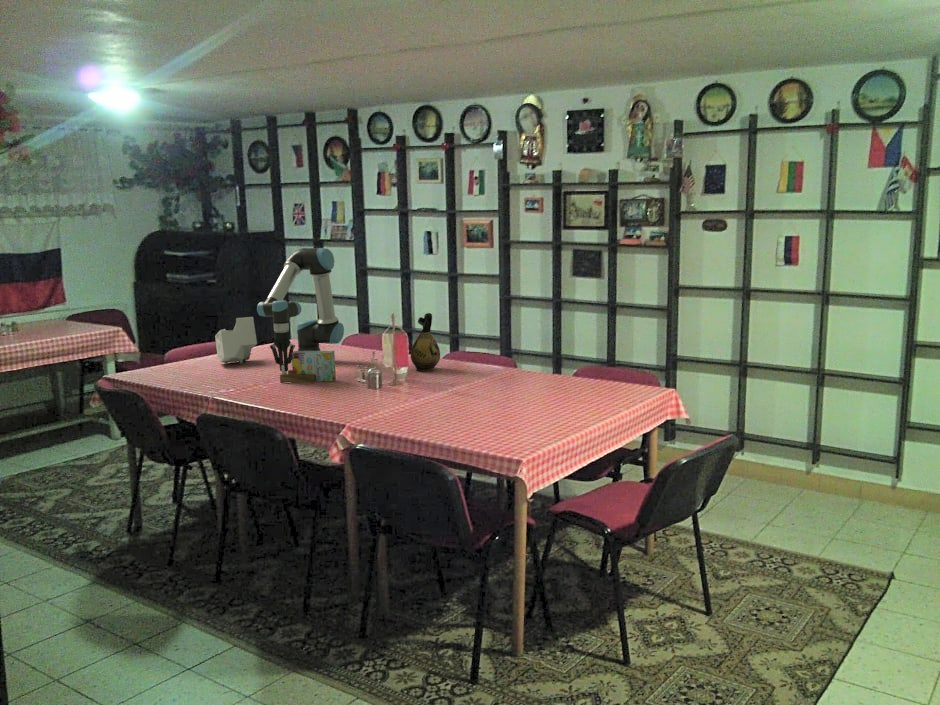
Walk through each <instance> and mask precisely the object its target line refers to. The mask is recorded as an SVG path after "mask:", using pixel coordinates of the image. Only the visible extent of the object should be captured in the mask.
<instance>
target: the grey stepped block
mask: <svg viewBox="0 0 940 705" xmlns="http://www.w3.org/2000/svg"><path fill="white" fill-rule="evenodd" d="M214 339H215V346H216V354H217V358H218V359H219V361H220V363H224V364H225V363H226V364H225V365H229V364H230V363H238V362H237V361H240V362H239V364H240V365H242V364H244V363H245V362H246V361H248V360H250V359H251V355H252V349H253V348H254V347H255V346H257V345H258V340H257V339H258V338H257V334H256V326H255V320H254V317H253V316H247V317H236V318H235V325H234V327H233V330H230V329H229V330H226V328H224V329H220V330H219V331H218V332H217V333H216V334H215V338H214Z"/></svg>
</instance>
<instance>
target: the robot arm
mask: <svg viewBox="0 0 940 705" xmlns="http://www.w3.org/2000/svg"><path fill="white" fill-rule="evenodd" d="M285 260H286V261H285V262H284V264H283V269H282V271H281V272H280V274H279V276H278V278H277V280H276V282H275V283H274V285H273V287H272V288H271V290H270V292H269V294H268V296H267V297H266V299H265V301H260V302H259V303H258V304H257V307H256V311H257V313H258V315H259V316H260V317H268V318H269V317H272V321H273V331H274V333H273V339H274V341H273V343H272V344H271V345H269V347H270V349H271V351H272V354H273V359H274V361H275V364H277V365H279V371H280V372H281V374H288V371H289V364H292V354H291V353H292V352H294V349H295V347H296V345H295V344H292V342H291V340H290V336H291V335H290V331H289V330H290V325H289V319H290V318H293V317H294V318H295V317H297V316H300V314H301V312H302V306H301V303H299V302H298V301H290V302H289V301H287V300H285V299H284V298H285V296H286V295H287V293H288V291H289V290H290V288H291V286H292V284H293V282H294V281H295V280H296V277H297V276H299V275H300V274H301V273H302V271H305V270H309V275H310V276H312V277H313V284H314V289H315V290H314V292H315V298H316V302H317V310H318V316H319V317H318V319H309V320H304V321H300V322H297V325H296V332H297V334H296V335H297V346H298V348H297V351H322V350H321V348H320V344H328V345H329V344H330V345H334V344H335V345H337V344H339V343H340V342H342V339H343V338H344V334H345V328H344V327H345V326H344V324H343V323H341V322H340V320H339V317H337V316H336V315H335V314H336V313H335V304H334V300H333V299H334V298H333V292H332V287H331V286H332V285H331V278H330V275H331V273H332V269H333V268H334V267H335V257H334V254H333V252H332V251H331V250H330V249H329V248H326V247H324V248H323V247H310V248H309V247H305V248H302V247H301V248H299V249H297V250H296V251H294V252H293V253H291V254H290V255H289V257H288V258H287V259H285ZM288 350H289V351H288Z"/></svg>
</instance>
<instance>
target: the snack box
mask: <svg viewBox="0 0 940 705" xmlns="http://www.w3.org/2000/svg"><path fill="white" fill-rule="evenodd" d="M291 354H292V361H291V367H292V369H291V370H293V374H316V382H334V381H336V380H337V375H336V374H337V373H336V356H335V354H336V353H335V350H321V351H298V350H293V352H292V353H291Z"/></svg>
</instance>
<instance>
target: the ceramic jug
mask: <svg viewBox="0 0 940 705" xmlns="http://www.w3.org/2000/svg"><path fill="white" fill-rule="evenodd" d="M432 322H433V314H432V313H430V312H427V313H425V314H424V317H422V316H421V317H419V318H418V319H417V323H418V324H419V325H420V326H422V330H421V332H420V333H419V335H418V336H417V337H416V339H415V341H414V343H412V348H411V350H410V351H411V352H410V360H411V362H412V364H413V366H414V367H415V369H416V371H417V372H421V373H422V372H432V371H434V370H435V368H436V366H437V365H438V364H439V362H440V359H441V351H440V347H439V344H438V342H437V341H436V339H435V337H434V336H433V334H432V333H431V327H432Z"/></svg>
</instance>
